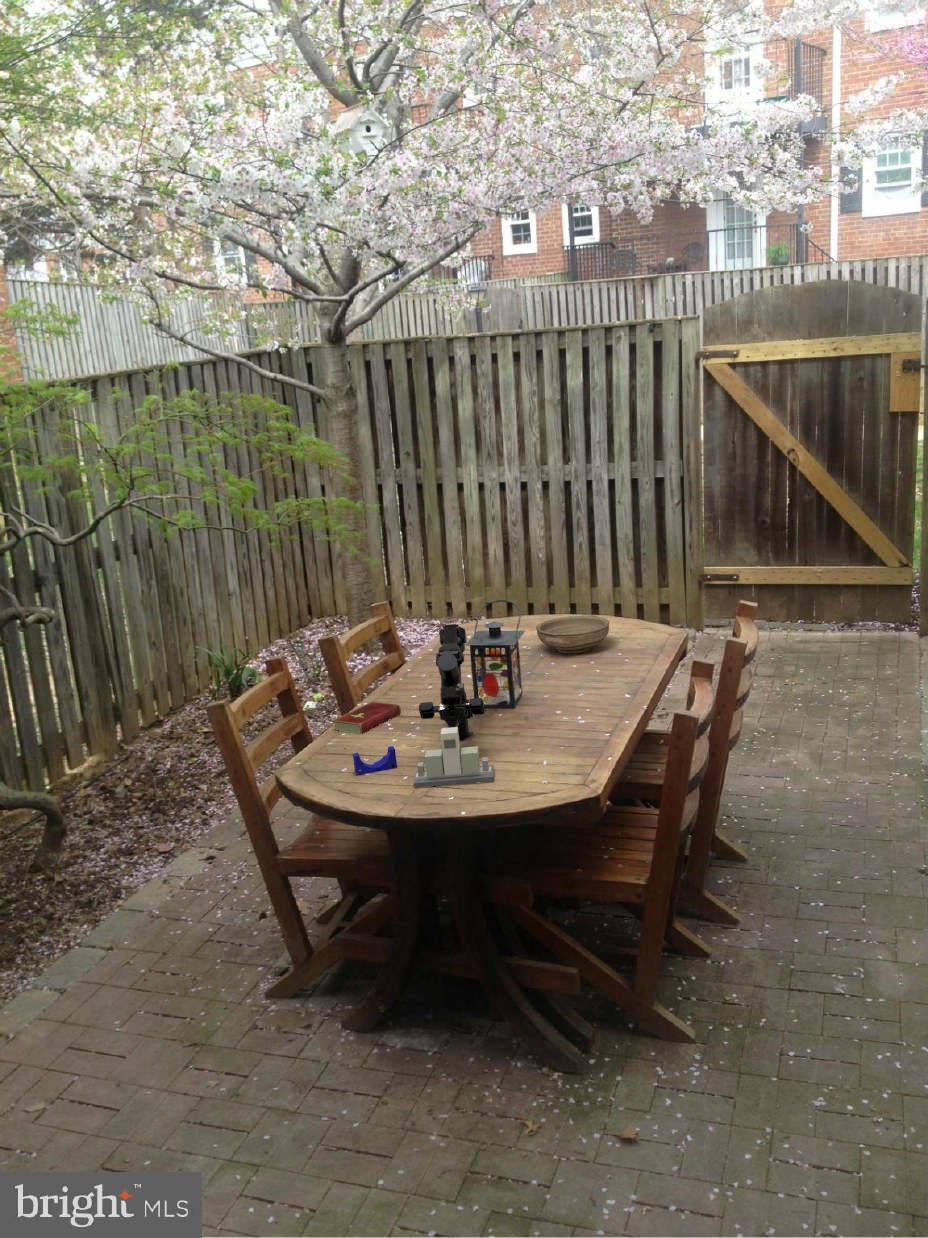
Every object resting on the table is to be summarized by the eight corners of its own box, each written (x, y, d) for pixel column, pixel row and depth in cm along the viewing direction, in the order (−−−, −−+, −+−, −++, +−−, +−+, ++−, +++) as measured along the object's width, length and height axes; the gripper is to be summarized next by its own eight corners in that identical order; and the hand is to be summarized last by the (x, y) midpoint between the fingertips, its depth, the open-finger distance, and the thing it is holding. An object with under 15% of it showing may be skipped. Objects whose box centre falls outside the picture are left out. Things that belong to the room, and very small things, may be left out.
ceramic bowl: (564, 635, 442) (562, 611, 439) (627, 638, 426) (626, 614, 424) (519, 659, 412) (517, 634, 409) (586, 664, 396) (584, 638, 394)
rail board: (416, 776, 303) (413, 748, 301) (493, 769, 302) (491, 742, 300) (414, 788, 294) (410, 759, 292) (493, 781, 293) (490, 753, 291)
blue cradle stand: (394, 763, 315) (391, 744, 314) (397, 768, 311) (395, 749, 310) (354, 771, 312) (351, 751, 311) (356, 776, 308) (354, 756, 307)
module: (446, 768, 299) (441, 728, 297) (462, 767, 299) (457, 726, 297) (445, 775, 294) (440, 734, 292) (461, 774, 294) (456, 733, 291)
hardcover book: (401, 715, 360) (400, 703, 359) (361, 736, 343) (360, 723, 342) (373, 712, 366) (372, 700, 365) (333, 732, 350) (332, 719, 349)
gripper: (415, 676, 308) (417, 725, 300) (480, 671, 307) (483, 720, 299) (420, 694, 318) (422, 742, 310) (483, 689, 317) (486, 736, 309)
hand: (453, 734), depth 307 cm, fingers closed
